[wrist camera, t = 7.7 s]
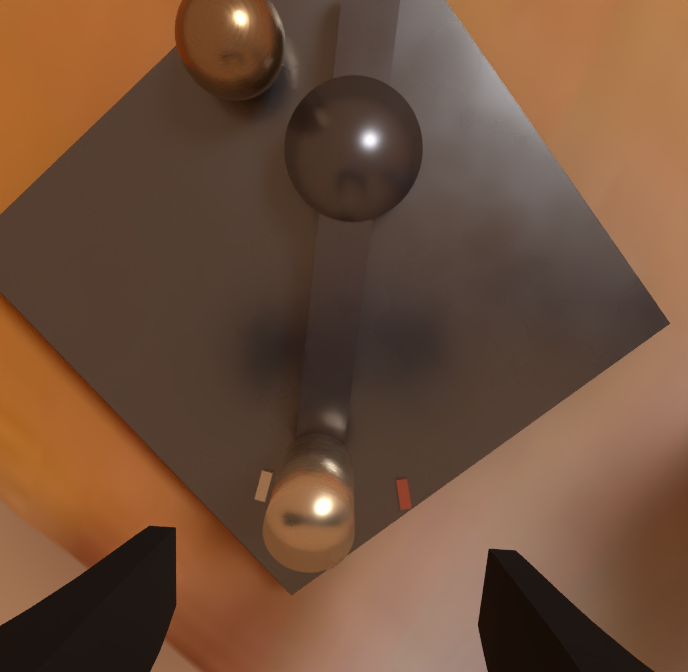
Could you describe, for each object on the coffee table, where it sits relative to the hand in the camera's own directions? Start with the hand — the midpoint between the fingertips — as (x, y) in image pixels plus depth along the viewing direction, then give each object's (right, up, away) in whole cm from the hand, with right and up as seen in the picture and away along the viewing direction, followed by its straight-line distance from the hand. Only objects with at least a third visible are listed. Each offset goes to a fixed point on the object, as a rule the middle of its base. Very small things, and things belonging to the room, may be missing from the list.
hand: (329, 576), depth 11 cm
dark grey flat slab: (-1, +7, +7) cm, 10 cm away
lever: (0, +8, +5) cm, 9 cm away
